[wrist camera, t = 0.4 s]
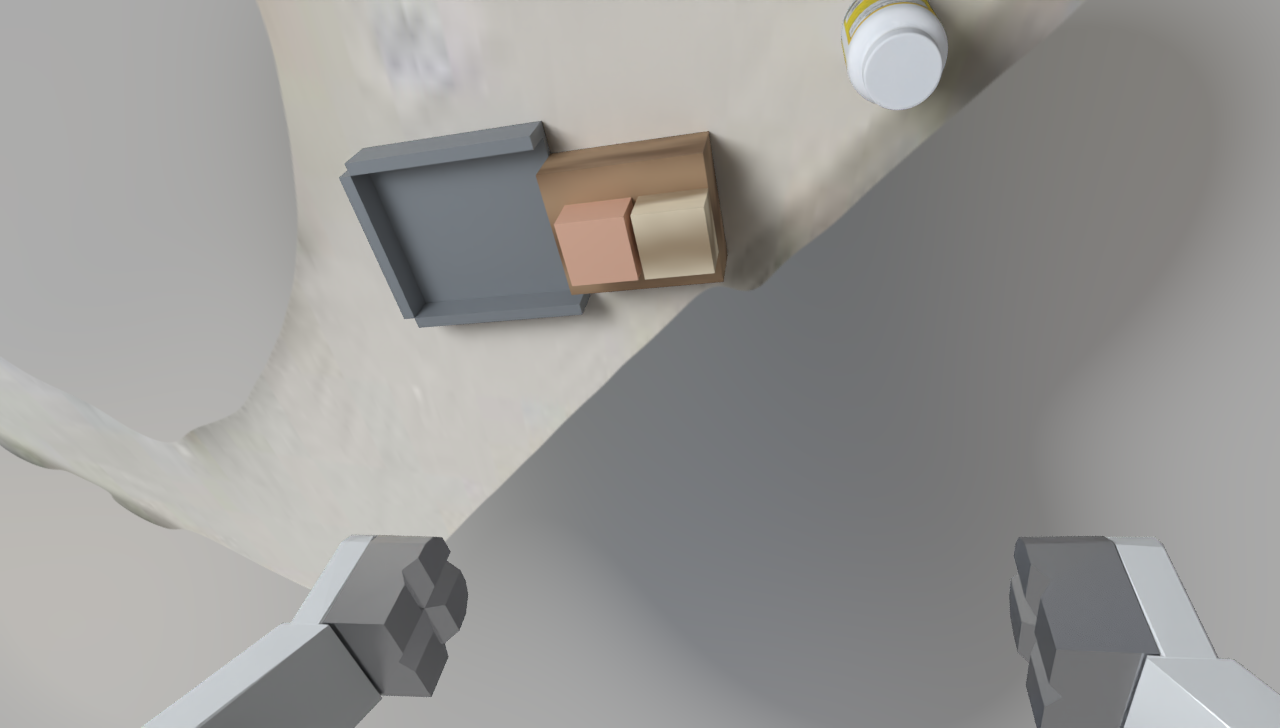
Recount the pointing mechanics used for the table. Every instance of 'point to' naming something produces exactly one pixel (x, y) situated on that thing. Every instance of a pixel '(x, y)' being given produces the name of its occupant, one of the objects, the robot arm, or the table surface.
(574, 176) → the brown wooden slab
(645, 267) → the cream wooden block
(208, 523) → the table surface
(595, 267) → the salmon pink square block
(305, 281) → the table surface
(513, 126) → the tray
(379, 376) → the table surface
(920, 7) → the supplement bottle
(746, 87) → the table surface
